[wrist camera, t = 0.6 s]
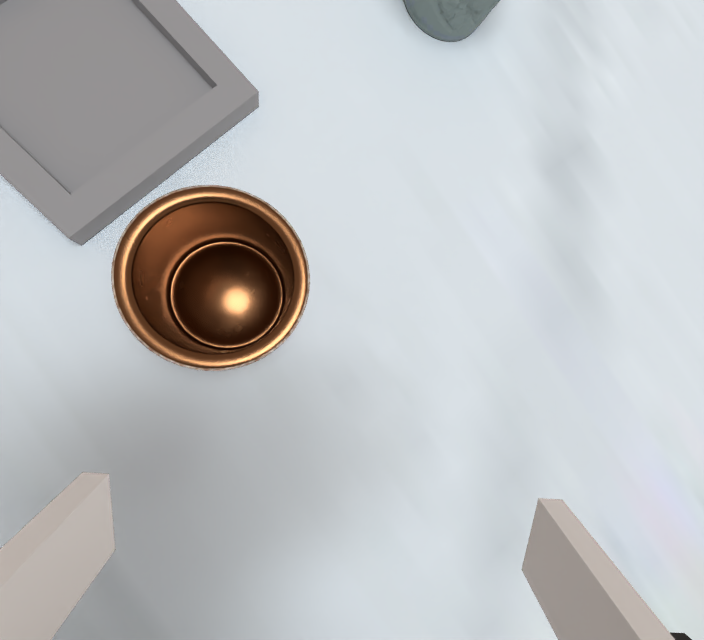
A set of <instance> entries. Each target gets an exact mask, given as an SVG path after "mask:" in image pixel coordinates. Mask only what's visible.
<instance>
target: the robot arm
mask: <svg viewBox="0 0 704 640" xmlns="http://www.w3.org/2000/svg"><path fill="white" fill-rule="evenodd" d="M114 551H115V540H114V528H113V516H112V504H111V492H110V480H109V474H104V473H86V472H82V473H81V474H80V475H79V476H78V477H77V478H76V479H75V480H74V481H73V482H72V483H71V484H70V485H68V486H67V487H66V488H65V489H64V490H63V491H62V492H61V493H60V494H59V495H58V496H57V497H56V498H55V499H53V500H52V501H51V502H50V503H49V504H48V505H47V506H46V507H45V508H44V509H43V510H42V511H41V512H40V513H38V514H37V515H36V516H35V517H34V518H33V519H32V520H31V521H30V522H29V523H28V524H27V525H26V526H25V527H23V528H22V529H21V530H20V531H19V532H18V533H17V534H16V535H15V536H14V537H13V538H12V539H11V540H10V541H8V542H7V543H6V544H5V545H4V546H3V547H2V548H1V549H0V640H51V639H52V638H53V637H54V635H55V634H56V632H57V631H58V630H59V628H60V627H61V625H62V624H63V623H64V621H65V620H66V618H67V617H68V615H69V614H70V613H71V611H72V610H73V608H74V607H75V606H76V604H77V603H78V601H79V600H80V599H81V597H82V596H83V594H84V593H85V592H86V590H87V589H88V587H89V586H90V585H91V583H92V582H93V580H94V579H95V578H96V576H97V575H98V573H99V572H100V571H101V569H102V568H103V566H104V565H105V563H106V562H107V561H108V559H109V558H110V556H111V555H112V554H113V552H114ZM522 571H523V573H524V575H525V577H526V579H527V581H528V583H529V585H530V587H531V589H532V590H533V592H534V594H535V596H536V598H537V600H538V602H539V604H540V606H541V608H542V610H543V612H544V613H545V615H546V617H547V619H548V621H549V623H550V625H551V627H552V629H553V631H554V633H555V635H556V636H557V638H558V640H692V639H690V638H689V637H688V636H687V635H686V634H685V633H669V631H668V630H667V629H666V628H665V626H664V625H663V624H662V623H661V621H660V620H659V619H658V618H657V616H656V615H655V614H654V613H653V612H652V610H651V609H650V608H649V607H648V605H647V604H646V603H645V602H644V600H643V599H642V598H641V597H640V595H639V594H638V593H637V592H636V590H635V589H634V588H633V587H632V585H631V584H630V583H629V582H628V580H627V579H626V578H625V577H624V576H623V574H622V573H621V572H620V571H619V569H618V568H617V567H616V566H615V564H614V563H613V562H612V561H611V559H610V558H609V557H608V556H607V554H606V553H605V552H604V551H603V549H602V548H601V547H600V546H599V545H598V543H597V542H596V541H595V540H594V538H593V537H592V536H591V535H590V533H589V532H588V531H587V530H586V528H585V527H584V526H583V525H582V523H581V522H580V521H579V520H578V518H577V517H576V516H575V515H574V513H573V512H572V511H571V510H570V509H569V507H568V506H567V505H566V504H565V502H564V501H563V500H560V499H542V498H538V502H537V507H536V511H535V515H534V519H533V524H532V528H531V532H530V536H529V541H528V545H527V549H526V553H525V557H524V562H523V566H522Z"/></svg>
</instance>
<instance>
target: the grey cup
mask: <svg viewBox="0 0 704 640" xmlns="http://www.w3.org/2000/svg"><path fill="white" fill-rule="evenodd" d="M499 1H500V0H404V2H405V5H406V8H407V10H408V13H409V14H410V16H411V18H412V19H413V21H414V22H415V23H416V24H417V26H418V27H419V28H420V29H422V30H423V31H424V32H425V33H427V34H428V35H430V36H432V37H434V38H436V39H439V40H442V41H449V42H454V41H459V40H462V39H464V38H466V37H467V36H469V35H470V34H471V33H473V32H474V31H475V30H476V29H477V27H478V26H479V25H480V24H481V23H482V21H483V20H484V19H485V18H486V16H487V15H488V14H489V12H490V11H491V10H492V9H493V8H494V7H495V6H496V5H497V3H498V2H499Z"/></svg>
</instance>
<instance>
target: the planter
mask: <svg viewBox="0 0 704 640" xmlns="http://www.w3.org/2000/svg"><path fill="white" fill-rule="evenodd" d="M111 281H112V290H113V295H114V299H115V303H116V305H117V308H118V311H119V313H120V315H121V317H122V319H123V321H124V322H125V324H126V325H127V327H128V328H129V330H130V331H131V332H132V334H133V335H134V336H135V337H136V338H137V339H138V340H139V341H140V342H141V343H142V344H143V345H144V346H145V347H146V348H148V349H149V350H150V351H152V352H153V353H155V354H156V355H158V356H159V357H161V358H163V359H165V360H167V361H169V362H172V363H174V364H177V365H180V366H183V367H187V368H191V369H196V370H204V371H222V370H230V369H235V368H239V367H243V366H246V365H249V364H252V363H254V362H256V361H258V360H260V359H262V358H264V357H266V356H267V355H269V354H270V353H272V352H273V351H274V350H276V349H277V348H278V347H279V346H280V345H282V344H283V343H284V342H285V340H286V339H287V338H288V337H289V336H290V335H291V334H292V332H293V331H294V329H295V328H296V326H297V325H298V323H299V321H300V319H301V317H302V315H303V312H304V310H305V307H306V304H307V300H308V295H309V287H310V273H309V265H308V260H307V256H306V253H305V250H304V247H303V245H302V243H301V240H300V239H299V237H298V235H297V233H296V232H295V230H294V229H293V227H292V226H291V225H290V223H289V222H288V221H287V220H286V219H285V217H284V216H283V215H282V214H281V213H279V212H278V211H277V210H276V209H275V208H274V207H272V206H271V205H270V204H268V203H267V202H265V201H264V200H262V199H260V198H258V197H257V196H254V195H252V194H250V193H248V192H245V191H242V190H239V189H236V188H231V187H226V186H219V185H198V186H191V187H186V188H181V189H178V190H175V191H172V192H170V193H167V194H165V195H163V196H161V197H159V198H157V199H156V200H154V201H152V202H151V203H149V204H148V205H147V206H145V207H144V208H143V209H142V210H141V211H140V212H139V213H138V214H137V215H136V216H135V217H134V218H133V219H132V220H131V221H130V223H129V224H128V225H127V227H126V228H125V230H124V232H123V233H122V235H121V237H120V239H119V241H118V244H117V246H116V249H115V253H114V257H113V262H112V270H111Z"/></svg>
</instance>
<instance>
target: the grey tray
mask: <svg viewBox="0 0 704 640" xmlns="http://www.w3.org/2000/svg"><path fill="white" fill-rule="evenodd" d="M258 107H259V100H258V90H257V89H256V88H255V87H254V86H253V85H252V84H251V83H250V82H249V80H248V79H247V78H246V77H245V76H244V75H243V74H242V73H241V72H240V71H239V69H238V68H237V67H236V66H235V65H234V64H233V63H232V62H231V61H230V60H229V58H228V57H227V56H226V55H225V54H224V53H223V52H222V51H221V50H220V49H219V47H218V46H217V45H216V44H215V43H214V42H213V41H212V40H211V39H210V37H209V36H208V35H207V34H206V33H205V32H204V31H203V30H202V29H201V28H200V26H199V25H198V24H197V23H196V22H195V21H194V20H193V19H192V18H191V17H190V15H189V14H188V13H187V12H186V11H185V10H184V9H183V8H182V7H181V6H180V4H179V3H178V2H177V1H176V0H0V174H1V175H2V176H3V177H4V178H5V179H6V180H7V181H8V182H9V183H10V184H11V185H12V186H14V187H15V188H16V189H17V190H18V191H19V192H20V193H21V194H22V195H23V196H24V197H25V198H26V199H27V200H28V201H29V202H31V203H32V204H33V205H34V206H35V207H36V208H37V209H38V210H39V211H40V212H41V213H42V214H43V215H44V216H45V217H46V218H48V219H49V220H50V221H51V222H52V223H53V224H54V225H55V226H56V227H57V228H58V229H59V230H60V231H61V232H62V233H64V234H65V235H66V236H67V237H68V238H69V239H71V240H73V241H75V242H77V243H78V244H80V245H83V244H84V243H85V242H87V241H88V240H89V239H91V238H92V237H93V236H94V235H96V234H97V233H98V232H100V231H101V230H102V229H103V228H105V227H106V226H107V225H108V224H110V223H111V222H112V221H114V220H115V219H116V218H117V217H119V216H120V215H121V214H122V213H124V212H125V211H126V210H128V209H129V208H130V207H131V206H133V205H134V204H135V203H136V202H138V201H139V200H140V199H142V198H143V197H144V196H145V195H147V194H148V193H149V192H150V191H152V190H153V189H154V188H156V187H157V186H158V185H159V184H161V183H162V182H163V181H165V180H166V179H167V178H168V177H170V176H171V175H172V174H173V173H175V172H176V171H177V170H179V169H180V168H181V167H182V166H184V165H185V164H186V163H187V162H189V161H190V160H191V159H193V158H194V157H195V156H196V155H198V154H199V153H200V152H201V151H203V150H204V149H205V148H207V147H208V146H209V145H210V144H212V143H213V142H214V141H215V140H217V139H218V138H219V137H221V136H222V135H223V134H224V133H226V132H227V131H228V130H230V129H231V128H232V127H233V126H235V125H236V124H237V123H238V122H240V121H241V120H242V119H244V118H245V117H246V116H247V115H249V114H250V113H251V112H252V111H254V110H255V109H256V108H258Z"/></svg>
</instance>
